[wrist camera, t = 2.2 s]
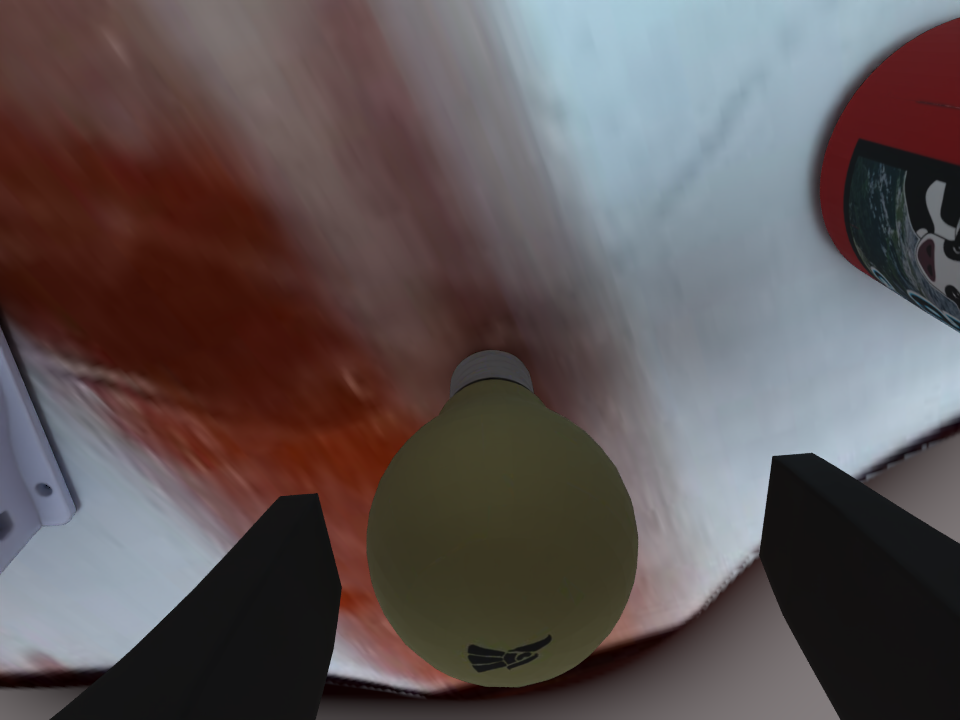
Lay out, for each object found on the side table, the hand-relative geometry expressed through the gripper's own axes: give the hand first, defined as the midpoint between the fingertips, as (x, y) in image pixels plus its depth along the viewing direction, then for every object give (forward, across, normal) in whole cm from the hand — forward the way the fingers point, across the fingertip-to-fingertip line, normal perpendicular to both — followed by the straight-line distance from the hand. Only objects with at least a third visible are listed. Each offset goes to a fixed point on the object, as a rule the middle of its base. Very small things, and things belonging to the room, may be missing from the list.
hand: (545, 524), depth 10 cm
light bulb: (+10, +1, +2) cm, 10 cm away
